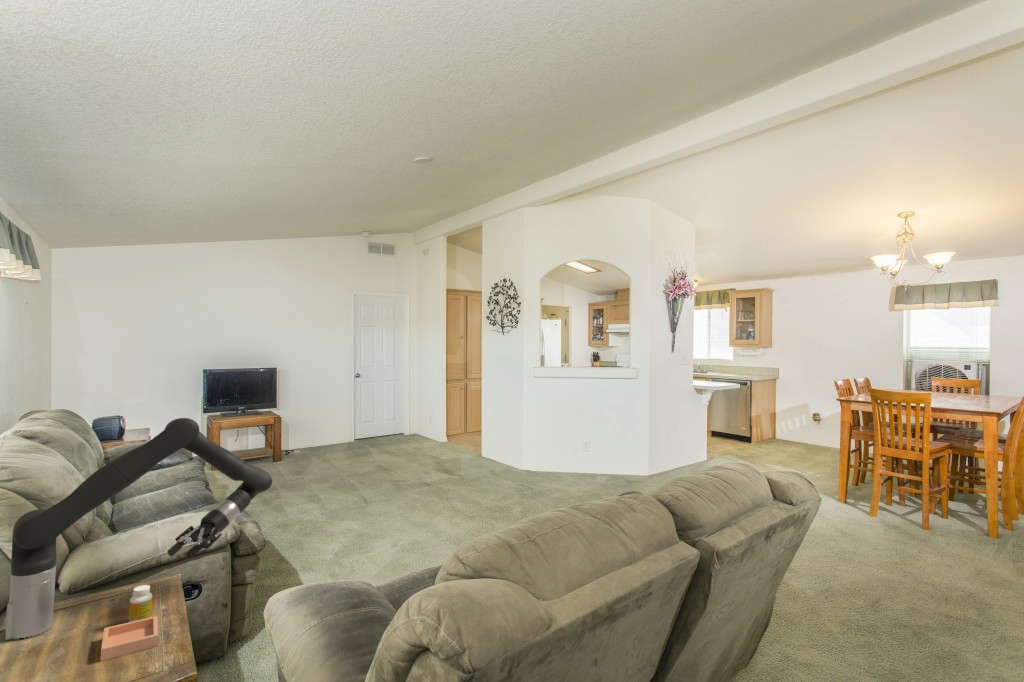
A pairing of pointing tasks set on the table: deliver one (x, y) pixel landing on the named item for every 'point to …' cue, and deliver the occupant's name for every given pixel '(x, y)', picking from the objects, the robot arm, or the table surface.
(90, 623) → the table surface
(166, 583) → the table surface
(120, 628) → the tray
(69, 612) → the table surface
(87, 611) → the table surface
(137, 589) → the supplement bottle
